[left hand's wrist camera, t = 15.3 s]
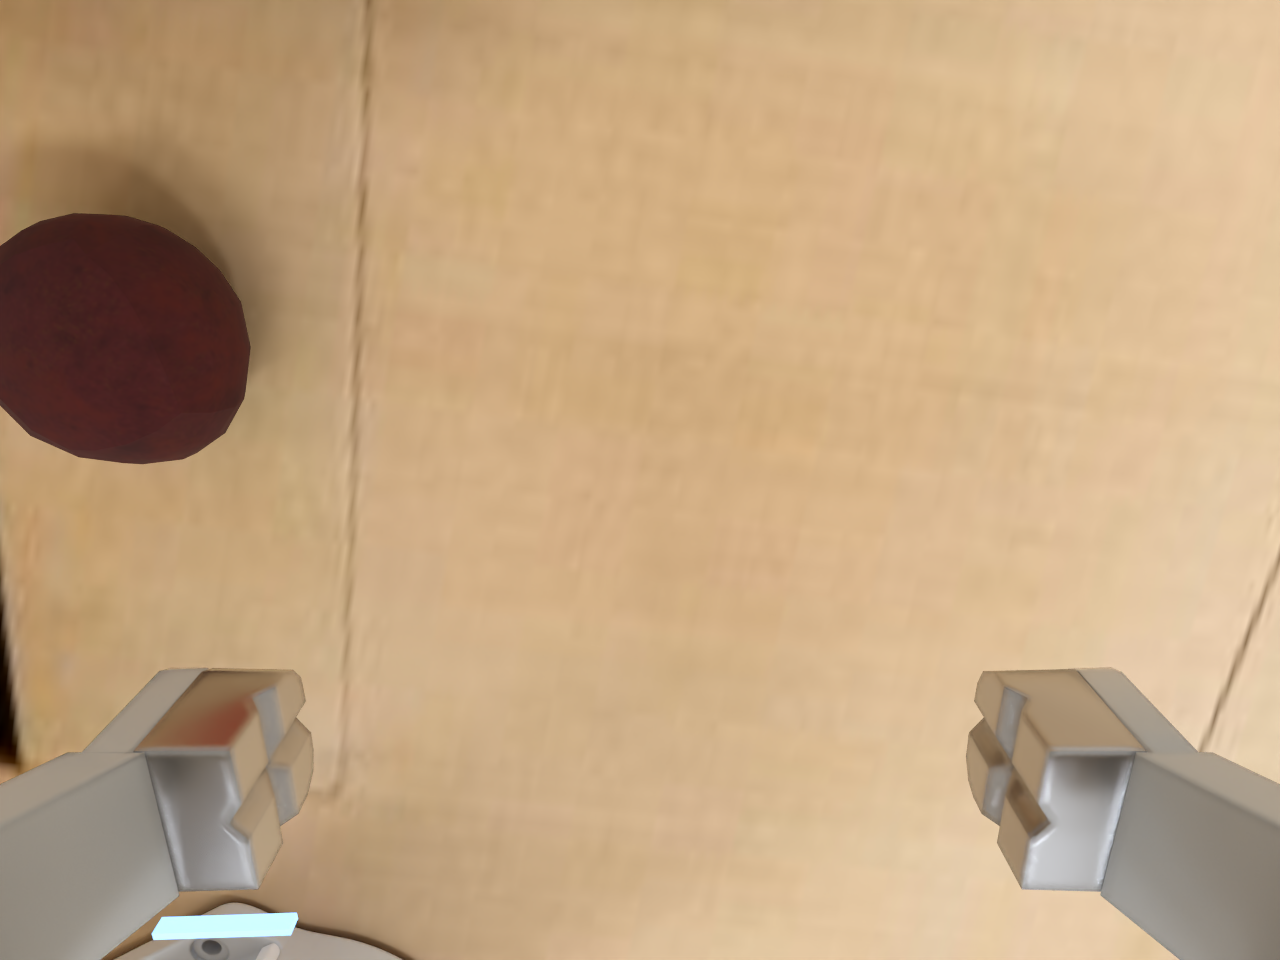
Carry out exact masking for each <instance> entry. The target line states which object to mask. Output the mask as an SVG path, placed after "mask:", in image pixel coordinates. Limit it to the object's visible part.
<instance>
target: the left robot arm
mask: <svg viewBox="0 0 1280 960" xmlns="http://www.w3.org/2000/svg"><path fill="white" fill-rule="evenodd" d="M305 702H306V700H305V695H304V690H303V685H302V680H301V677H300V676H299V675H298V674H297V673H296V672H295V671H294V670H277V669H228V668H212V669H208V668H170V669H166V670H162V671H159V672H158V673H157V674H156V675H155V676H154V677H153V678H152V679H151V680H150V681H149V682H148V684H147V685H146V686H145V687H144V688H143V689H142V690H141V691H140V692H139V693H138V694H137V695H136V696H135V697H134V698H133V699H132V700H131V701H130V702H129V703H128V704H127V705H126V707H125V708H124V709H123V710H122V711H121V712H120V713H119V714H118V715H117V716H116V717H115V718H114V719H113V720H112V721H111V722H110V723H109V724H108V725H107V726H106V727H105V728H104V729H103V731H102V732H101V733H100V734H99V735H98V736H97V737H96V738H95V739H94V740H93V741H92V742H91V743H90V744H89V745H88V746H87V747H86V748H85V749H84V750H83V751H82V752H80V753H65V754H63V755H61V756H59V757H57V758H55V759H53V760H51V761H48V762H46V763H44V764H42V765H40V766H38V767H36V768H34V769H31V770H29V771H27V772H25V773H23V774H21V775H19V776H17V777H14V778H12V779H10V780H8V781H6V782H4V783H2V784H0V960H101V959H102V958H103V957H104V956H106V955H107V954H108V953H109V952H111V951H112V950H113V949H114V948H115V947H117V946H118V945H119V944H120V943H122V942H123V941H124V940H125V939H127V938H128V937H129V936H130V935H131V934H133V933H134V932H135V931H136V930H138V929H139V928H140V927H141V926H143V925H144V924H145V923H146V922H147V921H149V920H150V919H151V918H152V917H154V916H155V915H156V914H157V913H159V912H160V911H161V910H162V909H163V908H165V907H166V906H167V905H168V904H170V903H171V902H172V901H173V900H175V899H176V898H177V897H178V896H179V891H213V890H247V889H259V887H260V885H261V883H262V881H263V879H264V878H265V876H266V874H267V872H268V870H269V868H270V866H271V864H272V863H273V861H274V859H275V857H276V855H277V853H278V851H279V849H280V848H281V846H282V844H283V840H282V834H281V829H280V826H281V825H282V824H284V823H285V822H287V821H288V820H290V819H291V818H293V817H294V816H296V815H297V814H298V813H299V811H300V809H301V807H302V805H303V803H304V801H305V799H306V797H307V795H308V791H309V787H310V782H311V778H312V773H313V752H314V750H313V743H312V737H311V732H310V731H309V730H308V729H307V728H306V727H305V726H304V725H303V724H302V723H301V722H300V721H299V720H298V719H297V718H296V716H297V715H298V713H299V711H300V710H301V708H302V706H303V705H304V703H305ZM974 702H975V703H976V705H977V706H978V708H979V710H980V711H981V713H982V715H983V716H984V718H983V719H982V720H981V721H980V722H979V723H978V724H977V725H976V726H975V727H974V728H973V729H972V730H971V731H970V732H969V737H968V745H967V753H966V761H967V772H968V781H969V784H970V787H971V791H972V794H973V797H974V799H975V801H976V803H977V805H978V807H979V809H980V811H981V813H982V814H983V815H984V816H986V817H987V818H989V819H990V820H992V821H993V822H995V823H996V824H998V825H999V826H1000V829H999V834H998V840H997V844H998V846H999V848H1000V849H1001V851H1002V853H1003V855H1004V857H1005V859H1006V861H1007V863H1008V864H1009V866H1010V868H1011V870H1012V872H1013V874H1014V876H1015V877H1016V879H1017V881H1018V883H1019V885H1020V887H1021V889H1030V890H1066V891H1101V896H1102V897H1103V898H1105V899H1106V900H1107V901H1108V902H1110V903H1111V904H1112V905H1113V906H1114V907H1116V908H1117V909H1118V910H1119V911H1121V912H1122V913H1123V914H1124V915H1125V916H1127V917H1128V918H1129V919H1130V920H1132V921H1133V922H1134V923H1135V924H1137V925H1138V926H1139V927H1140V928H1141V929H1143V930H1144V931H1145V932H1146V933H1148V934H1149V935H1150V936H1151V937H1153V938H1154V939H1155V940H1156V941H1157V942H1159V943H1160V944H1161V945H1162V946H1164V947H1165V948H1166V949H1167V950H1169V951H1170V952H1171V953H1172V954H1173V955H1175V956H1176V957H1177V958H1178V959H1180V960H1280V784H1278V783H1276V782H1274V781H1272V780H1270V779H1267V778H1265V777H1263V776H1261V775H1259V774H1257V773H1255V772H1253V771H1251V770H1248V769H1246V768H1244V767H1242V766H1240V765H1238V764H1236V763H1234V762H1231V761H1229V760H1227V759H1225V758H1223V757H1221V756H1219V755H1217V754H1215V753H1200V752H1198V751H1197V750H1196V749H1195V748H1194V747H1193V746H1192V745H1191V744H1190V743H1189V742H1188V741H1187V740H1186V739H1185V738H1184V737H1183V736H1182V735H1181V734H1180V733H1179V732H1178V730H1177V729H1176V728H1175V727H1174V726H1173V725H1172V724H1171V723H1170V722H1169V721H1168V720H1167V719H1166V718H1165V717H1164V716H1163V715H1162V714H1161V713H1160V712H1159V711H1158V710H1157V708H1156V707H1155V706H1154V705H1153V704H1152V703H1151V702H1150V701H1149V700H1148V699H1147V698H1146V697H1145V696H1144V695H1143V694H1142V693H1141V692H1140V691H1139V690H1138V689H1137V688H1136V686H1135V685H1134V684H1133V683H1132V682H1131V681H1130V680H1129V679H1128V678H1127V677H1126V676H1125V675H1124V674H1123V673H1122V672H1120V671H1118V670H1116V669H1113V668H1111V667H1106V668H1078V669H1060V670H1015V671H983V673H982V675H981V677H980V679H979V681H978V683H977V688H976V694H975V700H974ZM297 920H298V916H297V913H272V914H269V913H267V912H265V911H263V910H261V909H259V908H256V907H253V906H251V905H247V904H243V903H227V904H223V905H221V906H219V907H216V908H214V909H212V910H210V911H208V912H207V913H205V914H203V915H201V916H181V917H162V918H161V920H160V921H159V923H158V924H157V926H156V928H155V929H154V931H153V933H152V936H153V940H151V941H149V942H147V943H145V944H143V945H141V946H139V947H137V948H135V949H133V950H131V951H129V952H127V953H125V954H123V955H121V956H120V957H118V958H116V959H114V960H402V959H401V958H399V957H397V956H395V955H393V954H391V953H389V952H387V951H384V950H382V949H379V948H377V947H374V946H371V945H368V944H366V943H362V942H359V941H355V940H352V939H347V938H343V937H338V936H332V935H327V934H321V933H316V932H311V931H307V930H303V929H300V928H297V927H295V925H296V922H297Z"/></svg>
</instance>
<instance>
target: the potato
mask: <svg viewBox="0 0 1280 960" xmlns="http://www.w3.org/2000/svg"><path fill="white" fill-rule="evenodd" d="M249 355H250V343H249V338H248V333H247V328H246V324H245V319H244V314H243V309H242V305H241V301H240V300H239V298H238V297H237V295H236V294H235V292H234V291H233V289H232V288H231V286H230V285H229V283H228V282H227V280H226V279H225V277H224V276H223V274H222V273H221V271H220V270H219V269H218V268H217V267H216V266H215V265H214V264H213V263H212V262H210V261H209V260H208V259H207V258H206V257H205V256H204V255H203V254H202V253H201V252H200V251H199V250H198V249H197V248H196V247H194V246H192V245H191V244H189V243H188V242H186V241H185V240H183V239H181V238H180V237H178V236H177V235H175V234H173V233H172V232H170V231H169V230H167V229H165V228H163V227H161V226H158V225H155V224H151V223H148V222H145V221H141V220H138V219H135V218H131V217H128V216H120V215H103V214H78V213H73V214H69V215H65V216H61V217H56V218H52V219H48V220H44V221H40V222H38V223H36V224H34V225H32V226H30V227H28V228H26V229H24V230H22V231H20V232H19V233H18V234H16V235H15V236H14V237H12V238H11V239H9V240H8V241H7V242H5V243H4V244H2V245H1V246H0V406H1V407H2V408H3V409H4V410H5V411H6V412H7V413H8V414H9V415H10V416H11V417H12V418H13V419H14V420H15V421H16V422H17V423H18V424H19V425H20V426H21V427H22V428H23V429H24V430H25V431H26V432H27V433H28V434H29V435H30V436H33V437H35V438H37V439H39V440H42V441H44V442H46V443H48V444H51V445H53V446H55V447H57V448H60V449H62V450H64V451H66V452H69V453H71V454H73V455H75V456H78V457H82V458H90V459H97V460H105V461H112V462H120V463H133V464H148V463H156V462H164V461H172V460H180V459H184V458H187V457H189V456H191V455H193V454H195V453H197V452H199V451H200V450H202V449H203V448H204V447H206V446H207V445H209V444H210V443H211V442H213V441H214V440H216V439H217V438H219V437H220V436H221V435H223V434H224V433H225V432H226V430H227V429H228V427H229V425H230V423H231V421H232V420H233V418H234V416H235V414H236V412H237V411H238V409H239V407H240V405H241V403H242V401H243V400H244V396H245V391H246V382H247V373H248V364H249Z"/></svg>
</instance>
